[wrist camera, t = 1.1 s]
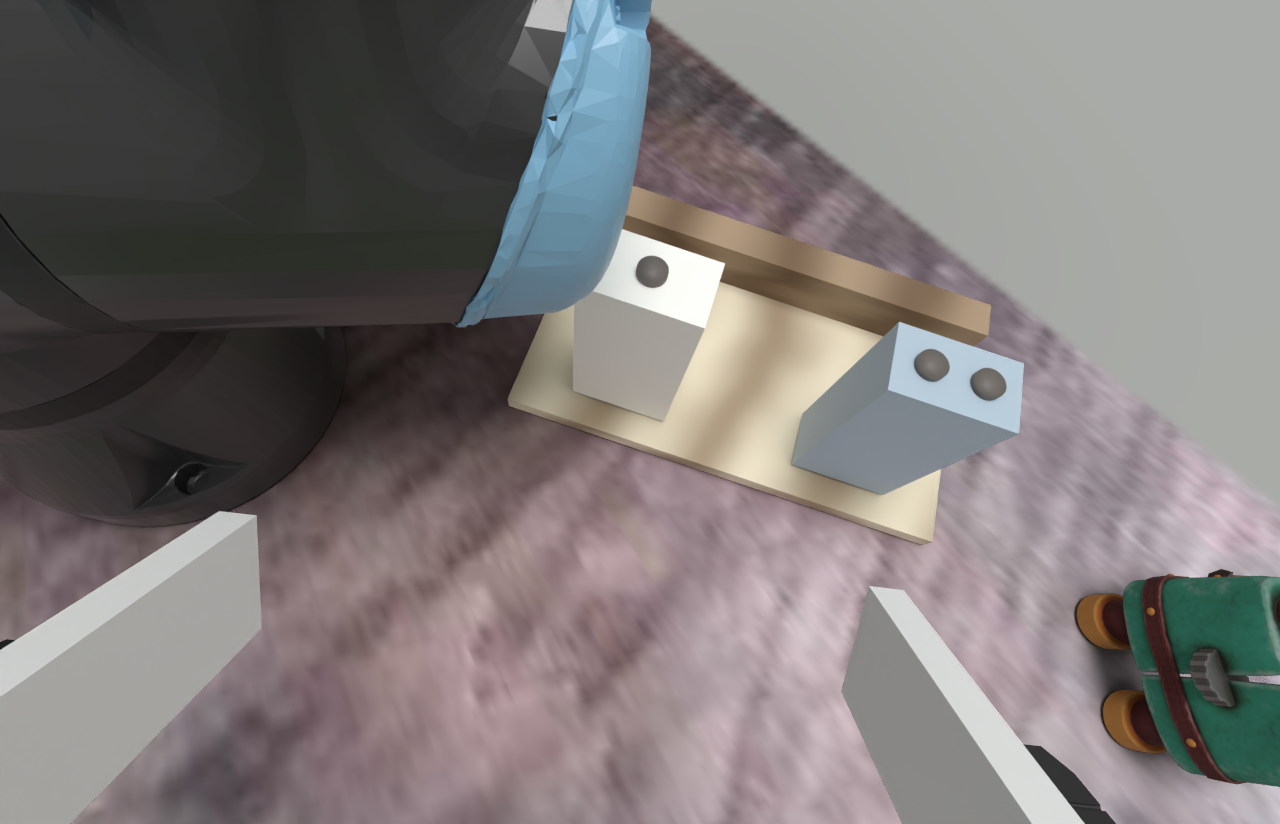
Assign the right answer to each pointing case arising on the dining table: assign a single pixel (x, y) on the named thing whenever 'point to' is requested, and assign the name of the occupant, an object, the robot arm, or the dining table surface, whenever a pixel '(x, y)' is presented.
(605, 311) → the tile one
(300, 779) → the dining table surface
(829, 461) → the tile two
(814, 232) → the dining table surface
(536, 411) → the holder
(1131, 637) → the binoculars
